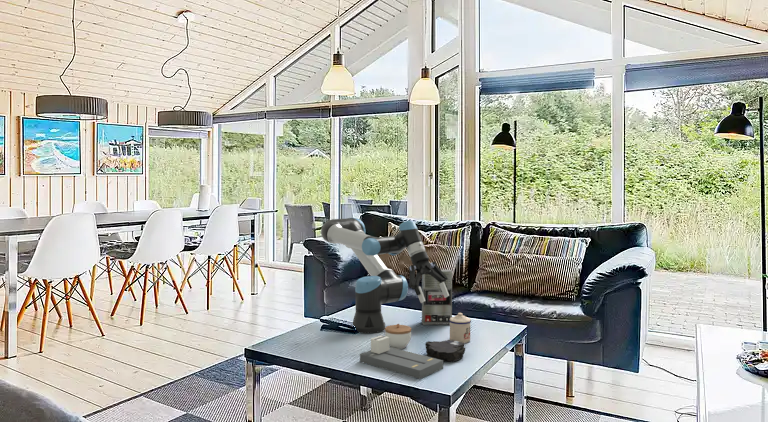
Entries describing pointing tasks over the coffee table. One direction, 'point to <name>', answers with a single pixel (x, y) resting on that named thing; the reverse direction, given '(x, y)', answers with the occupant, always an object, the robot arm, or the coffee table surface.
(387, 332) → the lidded jar
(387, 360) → the fader console
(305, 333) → the coffee table surface
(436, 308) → the cassette tape recorder
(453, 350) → the rock sample
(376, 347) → the fader knob
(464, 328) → the teacup with lid
